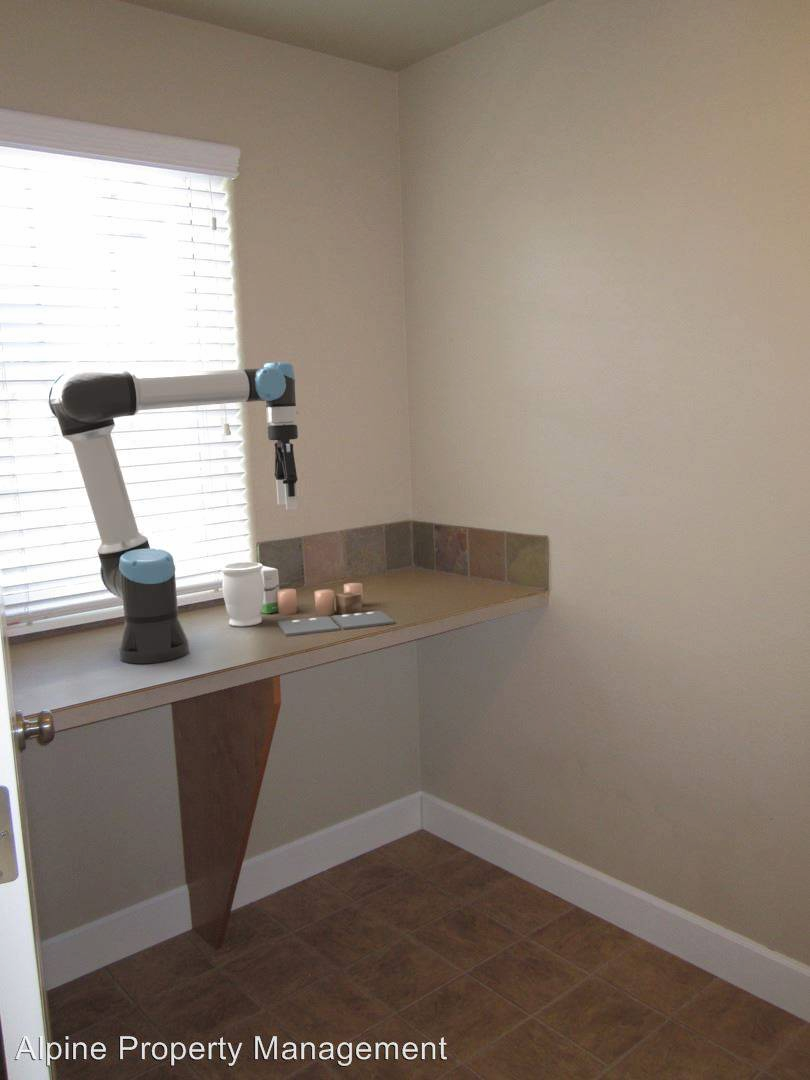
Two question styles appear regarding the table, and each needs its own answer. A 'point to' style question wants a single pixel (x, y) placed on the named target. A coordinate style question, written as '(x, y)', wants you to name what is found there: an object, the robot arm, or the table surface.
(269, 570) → the ink box
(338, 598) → the walnut block
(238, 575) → the jar
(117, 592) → the robot arm
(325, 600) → the pink rounded piece
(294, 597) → the tan rounded block
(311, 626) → the pad two
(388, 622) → the pad three
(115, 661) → the table surface
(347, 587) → the pink rounded piece
